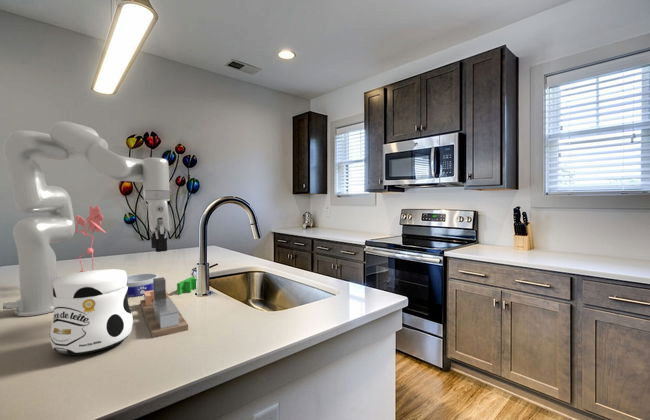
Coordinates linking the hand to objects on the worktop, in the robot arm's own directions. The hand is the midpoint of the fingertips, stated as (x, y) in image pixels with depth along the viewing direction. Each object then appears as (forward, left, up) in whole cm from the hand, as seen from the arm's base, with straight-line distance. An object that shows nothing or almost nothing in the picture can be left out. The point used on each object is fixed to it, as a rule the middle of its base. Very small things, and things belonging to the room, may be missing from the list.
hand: (159, 249), depth 106 cm
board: (0, -3, -21) cm, 21 cm away
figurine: (-17, +60, -21) cm, 66 cm away
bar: (0, -7, -19) cm, 20 cm away
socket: (0, +11, -19) cm, 22 cm away
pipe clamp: (+13, +23, -21) cm, 34 cm away
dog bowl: (-4, +33, -21) cm, 40 cm away
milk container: (-18, -15, -21) cm, 31 cm away
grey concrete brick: (0, -11, -19) cm, 22 cm away
